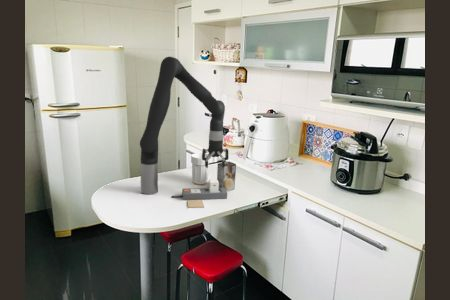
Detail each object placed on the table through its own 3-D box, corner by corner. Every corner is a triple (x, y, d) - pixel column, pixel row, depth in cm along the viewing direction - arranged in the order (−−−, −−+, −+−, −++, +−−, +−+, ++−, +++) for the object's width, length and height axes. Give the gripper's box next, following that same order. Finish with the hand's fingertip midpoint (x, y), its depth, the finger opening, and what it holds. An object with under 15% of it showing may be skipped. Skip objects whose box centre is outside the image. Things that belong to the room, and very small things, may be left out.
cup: (206, 186, 194) (207, 159, 189) (188, 184, 196) (188, 157, 191) (210, 180, 204) (211, 154, 200) (193, 178, 206) (194, 152, 202)
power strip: (172, 200, 172) (172, 193, 171) (171, 194, 180) (171, 187, 179) (226, 198, 179) (227, 192, 177) (224, 193, 186) (224, 186, 185)
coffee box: (228, 186, 197) (229, 161, 193) (234, 189, 192) (236, 163, 188) (216, 189, 191) (217, 163, 187) (222, 192, 186) (224, 166, 182)
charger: (209, 194, 178) (210, 182, 176) (208, 191, 182) (209, 179, 180) (218, 194, 179) (218, 182, 177) (216, 191, 183) (217, 179, 181)
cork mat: (188, 208, 165) (188, 207, 165) (187, 201, 173) (187, 200, 172) (204, 207, 167) (204, 206, 167) (202, 200, 174) (202, 199, 174)
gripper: (203, 140, 167) (202, 169, 171) (230, 140, 170) (228, 169, 174) (201, 136, 174) (200, 165, 178) (227, 136, 177) (226, 164, 181)
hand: (214, 167), depth 176 cm, fingers open, 8 cm apart
